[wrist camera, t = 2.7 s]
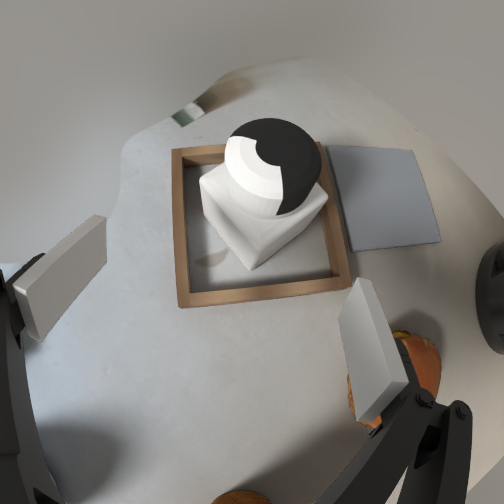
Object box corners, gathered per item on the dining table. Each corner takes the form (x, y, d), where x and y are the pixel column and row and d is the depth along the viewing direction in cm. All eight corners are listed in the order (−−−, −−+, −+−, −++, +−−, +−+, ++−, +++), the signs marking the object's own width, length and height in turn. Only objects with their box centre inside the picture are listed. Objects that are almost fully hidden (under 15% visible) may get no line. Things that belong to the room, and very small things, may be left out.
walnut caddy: (314, 151, 31) (319, 141, 29) (343, 289, 28) (352, 286, 26) (174, 160, 30) (171, 149, 28) (181, 308, 26) (178, 306, 24)
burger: (372, 442, 24) (394, 455, 20) (324, 378, 26) (343, 385, 21) (435, 377, 26) (463, 380, 22) (396, 313, 28) (422, 308, 23)
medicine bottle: (260, 174, 30) (280, 91, 18) (307, 227, 29) (356, 163, 17) (202, 214, 28) (191, 138, 17) (249, 272, 27) (269, 228, 16)
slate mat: (410, 152, 33) (412, 150, 33) (438, 242, 30) (441, 241, 30) (326, 148, 32) (327, 145, 31) (351, 252, 29) (353, 250, 28)
